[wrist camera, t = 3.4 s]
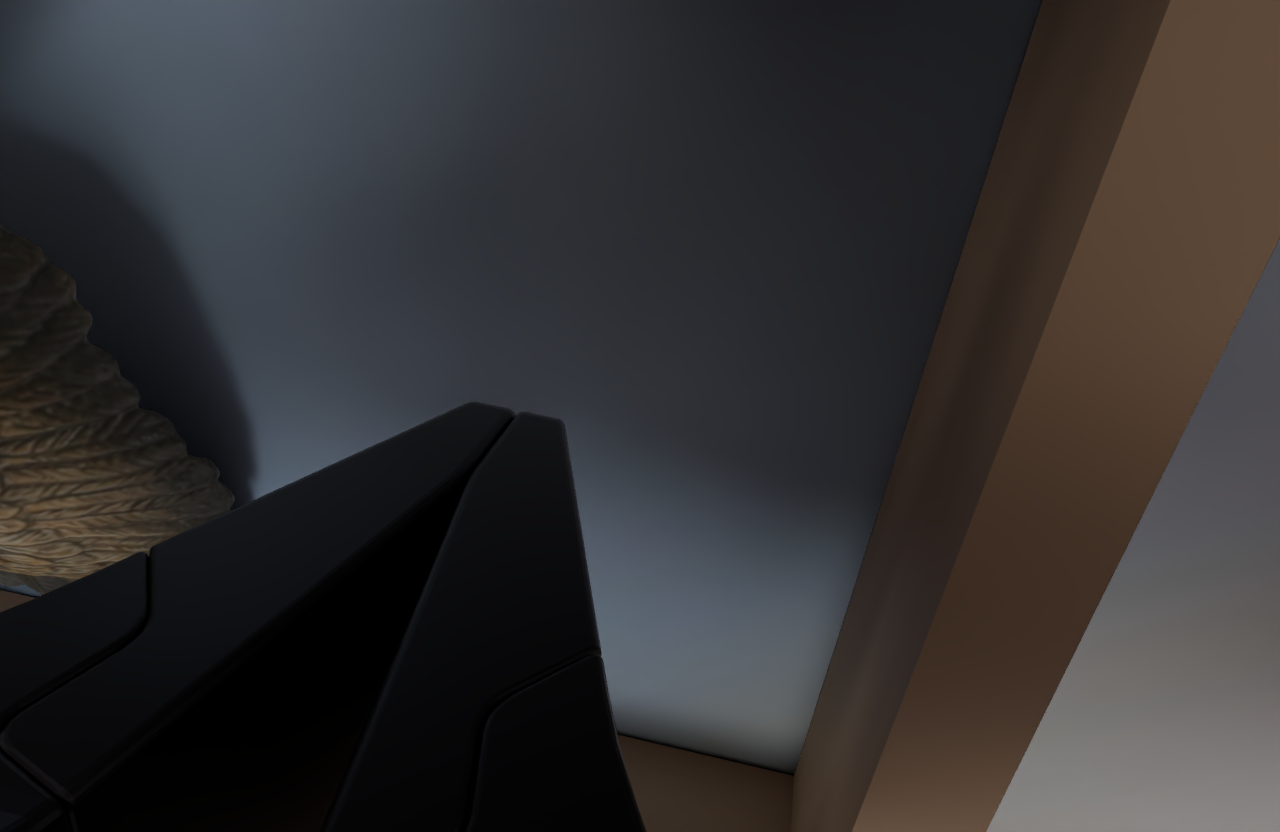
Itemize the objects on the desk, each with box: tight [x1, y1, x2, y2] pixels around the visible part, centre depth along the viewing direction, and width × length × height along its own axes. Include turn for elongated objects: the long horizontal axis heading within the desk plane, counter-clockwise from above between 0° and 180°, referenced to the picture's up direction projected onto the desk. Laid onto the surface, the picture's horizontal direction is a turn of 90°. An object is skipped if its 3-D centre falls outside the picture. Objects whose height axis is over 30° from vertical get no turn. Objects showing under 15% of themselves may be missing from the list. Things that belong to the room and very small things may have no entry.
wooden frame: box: [0, 0, 1280, 832], centre depth 9 cm, size 12×18×3 cm, turn 83°
